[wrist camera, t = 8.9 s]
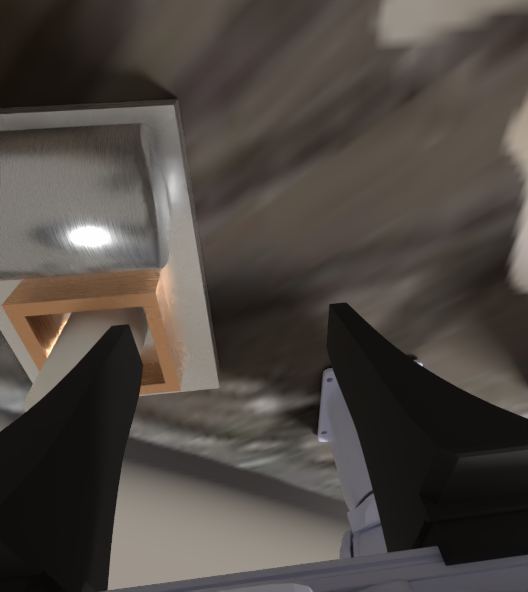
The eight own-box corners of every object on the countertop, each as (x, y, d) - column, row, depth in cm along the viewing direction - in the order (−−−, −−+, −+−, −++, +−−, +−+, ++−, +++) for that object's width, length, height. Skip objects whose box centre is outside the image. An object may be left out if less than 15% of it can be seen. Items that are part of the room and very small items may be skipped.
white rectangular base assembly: (219, 367, 27) (219, 462, 21) (56, 382, 27) (7, 486, 20) (178, 98, 17) (153, 132, 11) (-92, 112, 16) (-286, 157, 10)
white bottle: (151, 353, 23) (128, 459, 17) (79, 356, 23) (31, 466, 17) (140, 297, 21) (110, 399, 15) (59, 299, 20) (-6, 405, 14)
